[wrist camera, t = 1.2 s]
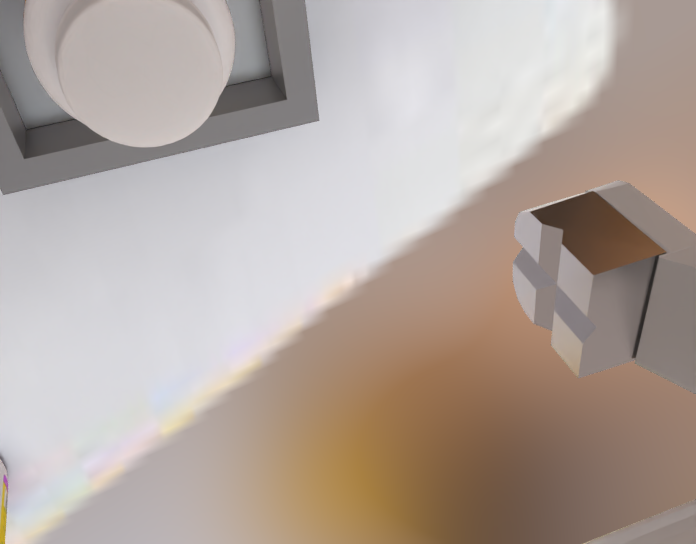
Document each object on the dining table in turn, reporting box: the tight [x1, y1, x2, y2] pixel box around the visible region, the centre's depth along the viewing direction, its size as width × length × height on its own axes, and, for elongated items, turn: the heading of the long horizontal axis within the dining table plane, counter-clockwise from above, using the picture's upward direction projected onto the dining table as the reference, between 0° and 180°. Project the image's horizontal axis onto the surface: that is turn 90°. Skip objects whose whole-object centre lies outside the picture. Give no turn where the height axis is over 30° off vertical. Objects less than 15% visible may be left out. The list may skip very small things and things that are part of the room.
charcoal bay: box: [0, 0, 319, 195], centre depth 23 cm, size 12×11×2 cm
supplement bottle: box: [23, 0, 235, 147], centre depth 20 cm, size 6×6×10 cm
